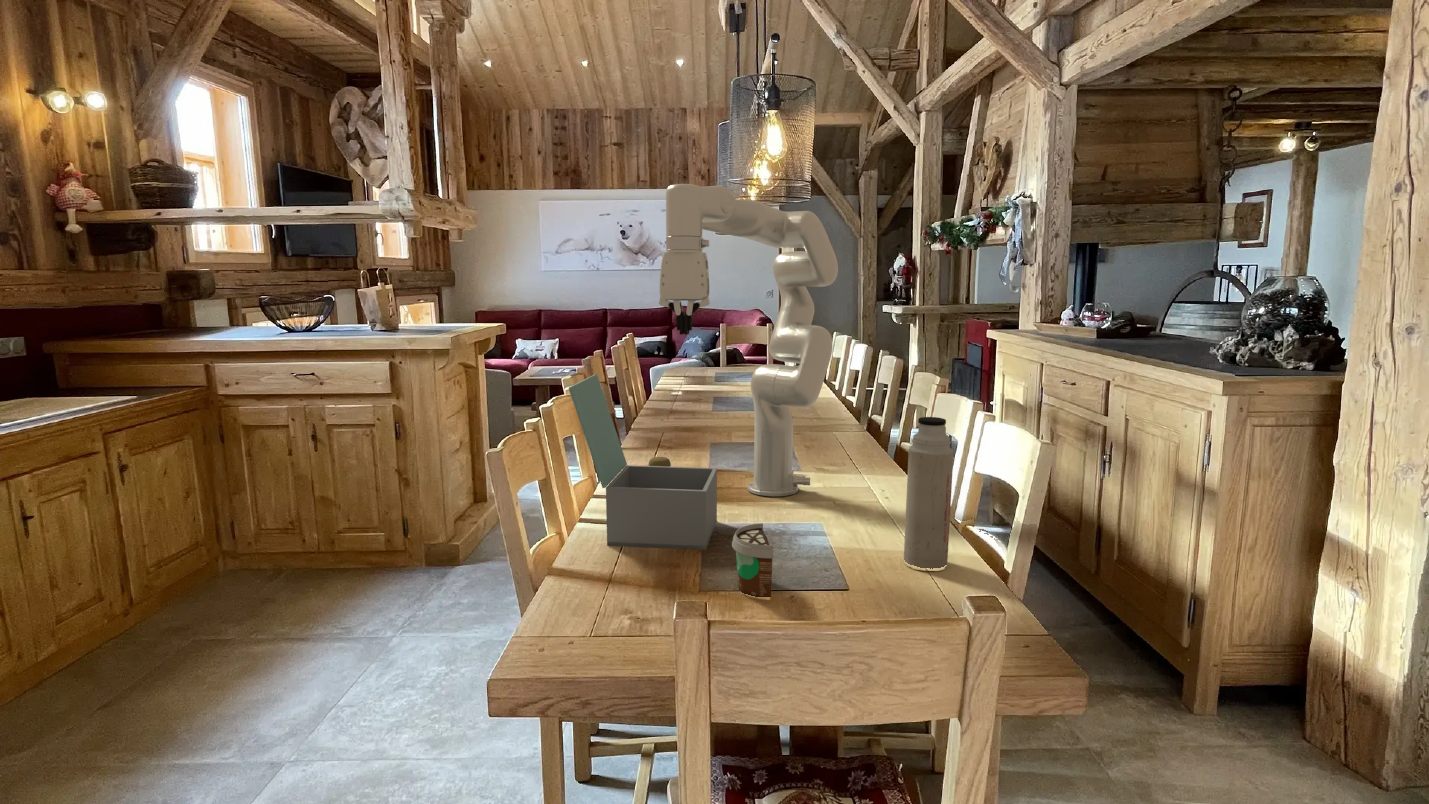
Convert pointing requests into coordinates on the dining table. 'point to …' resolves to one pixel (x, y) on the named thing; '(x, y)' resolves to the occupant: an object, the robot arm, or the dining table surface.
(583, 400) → the lid
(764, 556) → the food container
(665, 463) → the cork
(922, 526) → the thermos bottle
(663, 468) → the carton
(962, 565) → the dining table surface
